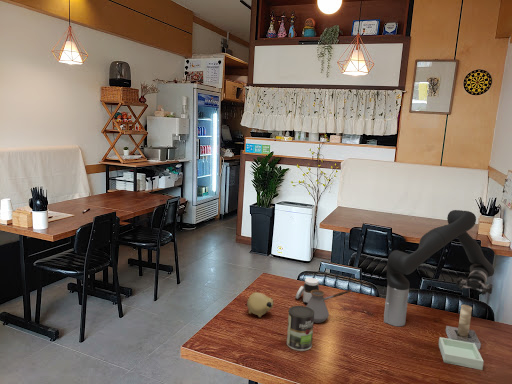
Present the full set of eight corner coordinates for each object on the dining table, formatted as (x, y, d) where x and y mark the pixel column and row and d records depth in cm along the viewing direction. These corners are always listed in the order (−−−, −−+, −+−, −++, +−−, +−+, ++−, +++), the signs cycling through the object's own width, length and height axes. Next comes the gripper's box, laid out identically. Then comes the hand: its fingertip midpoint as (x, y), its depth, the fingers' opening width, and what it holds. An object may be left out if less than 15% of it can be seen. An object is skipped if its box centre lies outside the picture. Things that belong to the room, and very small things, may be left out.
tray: (444, 362, 145) (445, 354, 144) (438, 344, 157) (439, 337, 156) (482, 369, 141) (483, 361, 140) (473, 351, 153) (474, 343, 153)
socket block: (450, 343, 158) (451, 338, 158) (445, 331, 169) (446, 325, 168) (479, 349, 155) (480, 343, 155) (473, 335, 166) (474, 330, 165)
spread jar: (319, 307, 187) (321, 284, 185) (296, 306, 187) (297, 283, 185) (315, 296, 199) (317, 275, 197) (294, 295, 199) (295, 274, 197)
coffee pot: (304, 324, 169) (306, 292, 167) (302, 312, 181) (304, 282, 178) (352, 327, 168) (355, 295, 166) (347, 315, 180) (350, 285, 177)
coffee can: (317, 347, 151) (319, 314, 149) (295, 353, 146) (297, 319, 144) (302, 335, 160) (304, 303, 158) (281, 340, 155) (283, 307, 153)
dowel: (457, 341, 161) (462, 307, 158) (455, 336, 164) (460, 303, 162) (468, 343, 159) (473, 309, 157) (466, 338, 163) (470, 305, 161)
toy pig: (270, 321, 170) (271, 299, 169) (244, 317, 173) (245, 295, 171) (274, 311, 180) (275, 290, 178) (249, 308, 182) (250, 287, 181)
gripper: (461, 268, 184) (455, 278, 172) (495, 275, 176) (491, 286, 163) (459, 283, 186) (453, 293, 173) (493, 291, 177) (489, 302, 164)
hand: (471, 290), depth 168 cm, fingers open, 8 cm apart
